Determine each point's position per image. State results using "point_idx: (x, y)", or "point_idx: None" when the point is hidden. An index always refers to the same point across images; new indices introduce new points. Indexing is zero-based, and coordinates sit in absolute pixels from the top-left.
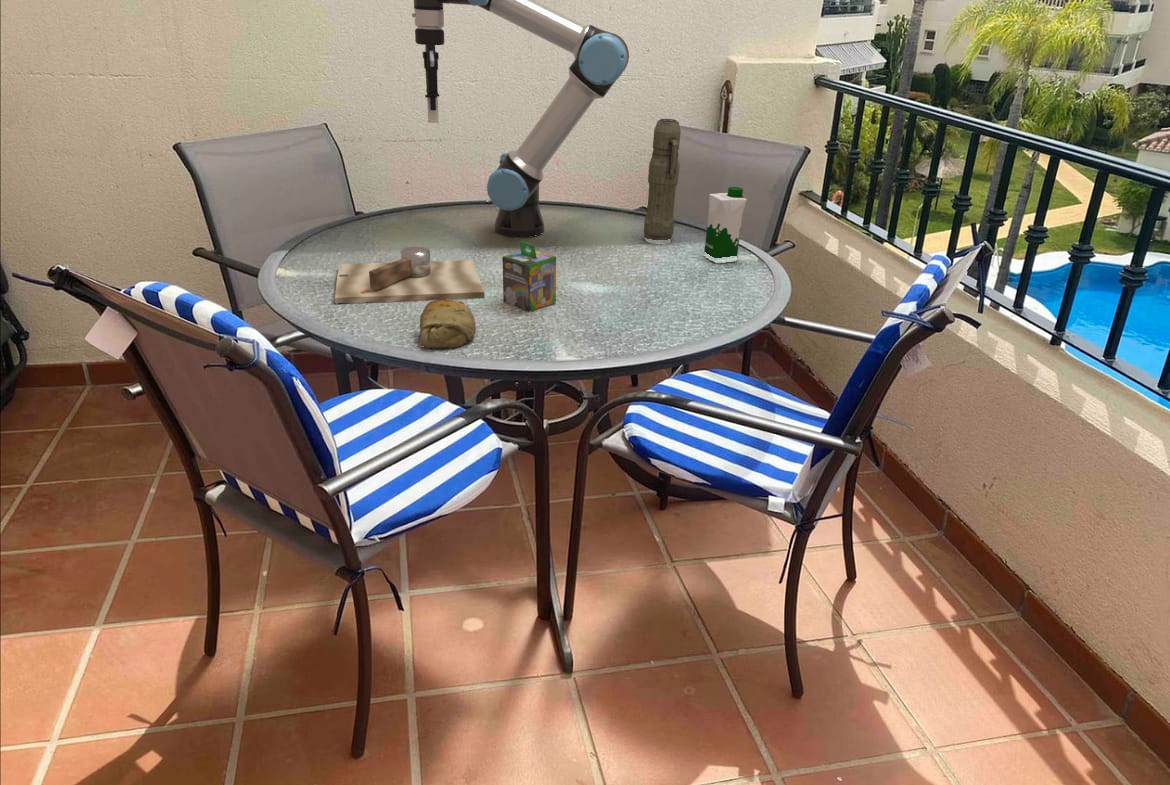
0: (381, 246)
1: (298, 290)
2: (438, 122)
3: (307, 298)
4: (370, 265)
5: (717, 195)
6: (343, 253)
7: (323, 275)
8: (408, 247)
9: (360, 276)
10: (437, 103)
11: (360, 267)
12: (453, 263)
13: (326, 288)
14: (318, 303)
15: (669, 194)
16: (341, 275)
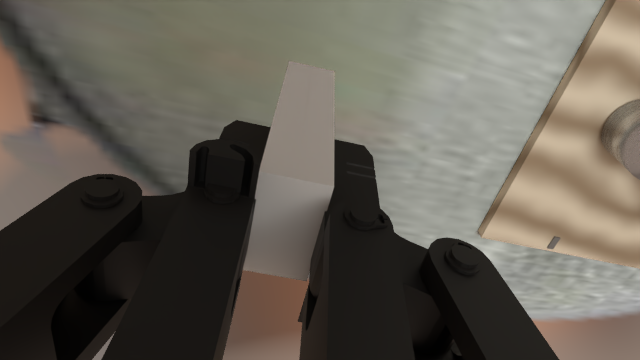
0: (355, 130)
1: (545, 291)
2: (334, 72)
3: (589, 287)
4: (521, 193)
5: None
6: None
7: (493, 254)
8: (630, 159)
9: (575, 220)
10: (331, 151)
11: (523, 210)
12: (628, 22)
13: (562, 261)
14: (622, 279)
15: None
16: (553, 246)
